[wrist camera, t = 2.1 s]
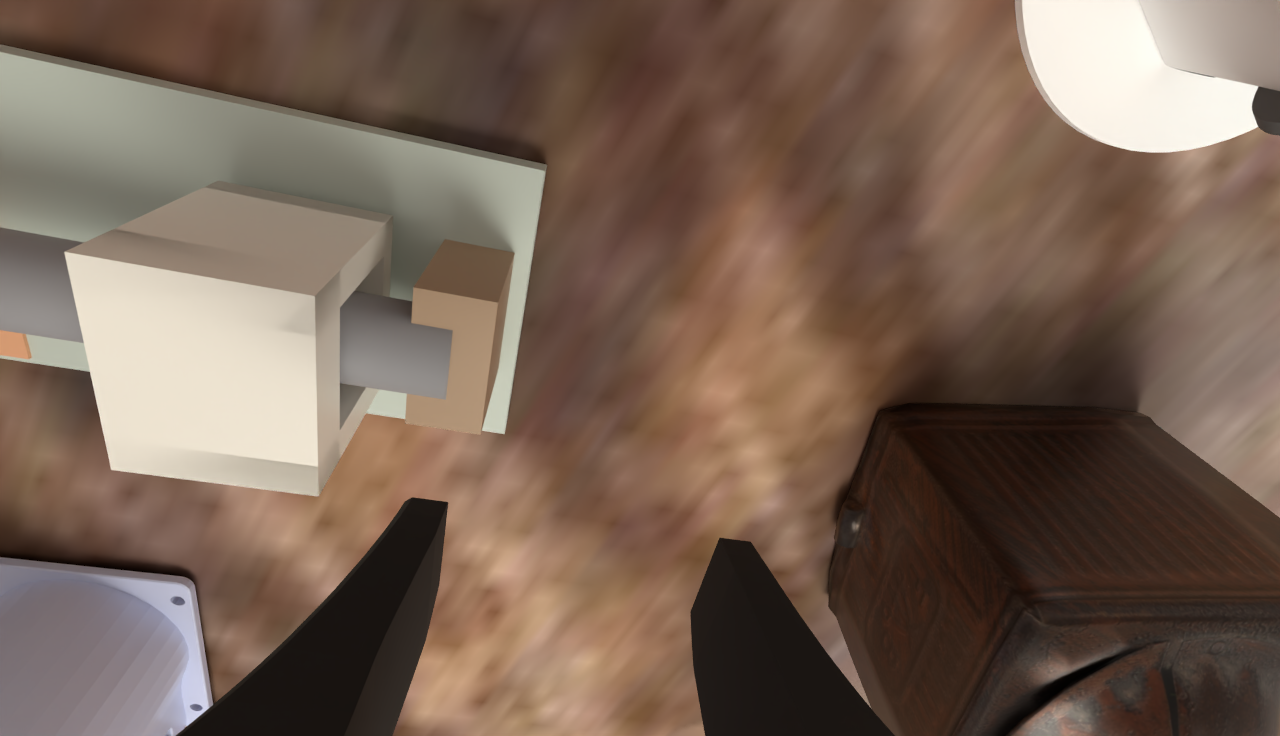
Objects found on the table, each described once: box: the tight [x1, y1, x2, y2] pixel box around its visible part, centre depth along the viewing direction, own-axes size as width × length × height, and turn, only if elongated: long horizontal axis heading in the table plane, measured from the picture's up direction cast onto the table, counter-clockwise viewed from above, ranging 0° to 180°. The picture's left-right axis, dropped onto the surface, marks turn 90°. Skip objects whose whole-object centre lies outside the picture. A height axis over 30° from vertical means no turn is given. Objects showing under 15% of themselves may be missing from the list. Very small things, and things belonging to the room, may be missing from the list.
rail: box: [0, 44, 547, 435], centre depth 16 cm, size 22×9×5 cm, turn 77°
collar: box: [64, 181, 393, 496], centre depth 16 cm, size 4×5×6 cm
